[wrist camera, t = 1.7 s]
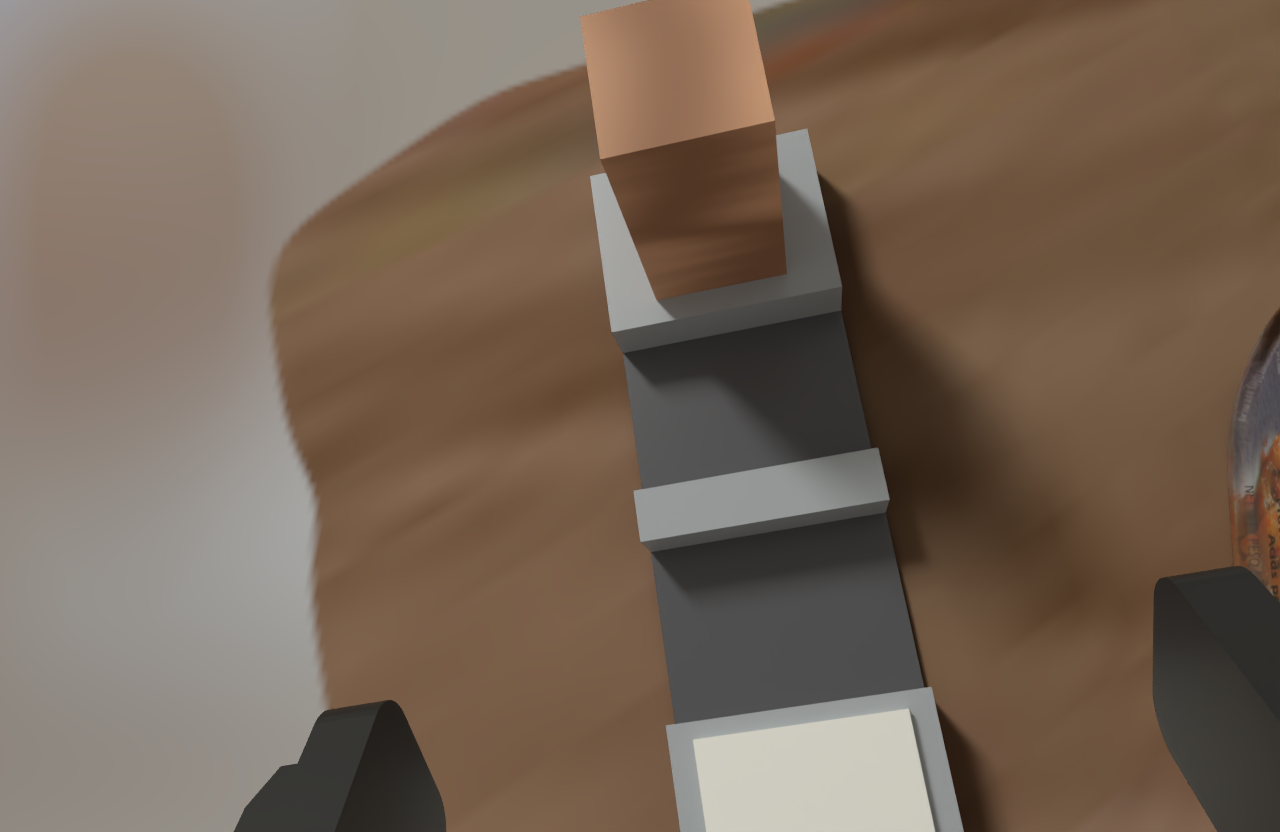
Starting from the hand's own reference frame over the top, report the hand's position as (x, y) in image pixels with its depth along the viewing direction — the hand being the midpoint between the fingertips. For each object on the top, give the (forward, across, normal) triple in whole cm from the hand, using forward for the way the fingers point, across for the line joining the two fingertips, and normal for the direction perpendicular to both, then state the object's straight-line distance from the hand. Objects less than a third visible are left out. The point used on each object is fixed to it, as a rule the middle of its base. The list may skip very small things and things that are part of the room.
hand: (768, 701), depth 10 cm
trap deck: (+17, 0, +9) cm, 19 cm away
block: (+22, 0, +1) cm, 22 cm away
